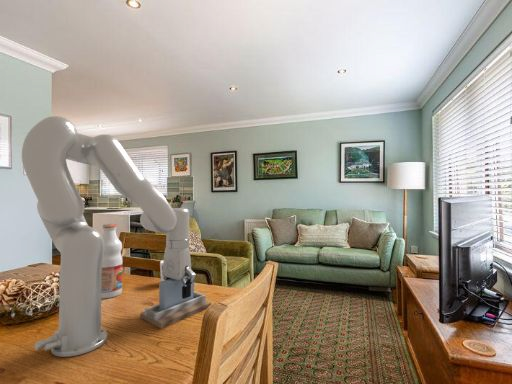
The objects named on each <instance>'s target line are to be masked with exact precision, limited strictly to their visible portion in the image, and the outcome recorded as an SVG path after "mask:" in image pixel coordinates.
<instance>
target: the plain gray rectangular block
mask: <svg viewBox="0 0 512 384" xmlns="http://www.w3.org/2000/svg"><path fill="white" fill-rule="evenodd" d="M185 281H187V279H185ZM158 284H159V285H158V286H159V287H158V288H159V289H158V290H159V291H158V298H159V299H158V304H159V312H160V311H163V310H165V309H168V308H171V307H173V306H176V305H179V304H181V303H184V302H186V301H189V300H192V299H194V292H195V280H194V281H193V283H192V285H191V296H190V297H188V298H185V299H183V298H182V286H183V284H182V281H181V280H179V281H178V280H174V279H168V280H164V281H161V280H160V281H159V283H158Z"/></svg>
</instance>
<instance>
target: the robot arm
mask: <svg viewBox="0 0 512 384" xmlns="http://www.w3.org/2000/svg"><path fill="white" fill-rule="evenodd" d="M67 160H69V161H73V162H77V163H81V164H85V165H89V166H95V167H96V166H97V167H98V168H99V169H100V170H101V172H102V173H103V174H104V175H105V177H106V178H107V179H108V181H109V183H110V184H111V185H112V186H113V187H114V189H115V190H116V192H117V193H118V194H119V195H121V196H123V197H124V198H126V199H128V200H130V201H131V202H132V203H134V205H136V206H137V207H139V208H140V209H141V210H142V213H141V215H140V217H139V222H140V225H141V227H143V228H144V229H145V230H147V231H151V232H156V233H159V234H166V235H165V236H166V239H165V240H166V242H165V243H166V244H165V246H166V247H165V249H164V253H163V260H164V261H163V265H162V271H163V276H164V280H168V279H174V280H178V281H179V280H181V281H182V284H183V286H182V298H183V299H185V298H188V297H190V296H191V285H192V283H193V281H194V282H195V277H196V273H195V272H194V271H193V270H192V262H191V260H192V258H191V251H190V210H189V209H188V208H185V207H172V206H171V204H170V202H168V200H167V199H166V197H165V196H164V195H163V194H162V193H161V192H160V191H159V190H158V189H157V187H155V186H154V185H153V184H152V183H151V182H150V181H149V180H148V179H147V178H146V177H145V176H143V173H141V171H140V170H139V168H138V167H137V165H136V164H135V163H134V161H133V159H132V158H131V157H130V155H129V154H128V152H127V151H126V149H125V148H124V147H123V145H122V143H121V142H120V141H119V140H118V139H117V138H116V137H115V136H114V135H113V136H112V135H110V134H99V135H96V136H94V137H92V136H88V135H85V134H82V133H79V132H78V131H77V128H76V126H75V125H74V124H73V122H72V121H70V120H69V119H67V118H66V117H63V116H58V115H53V116H48V117H45V118H43V119H42V120H40V121H39V122H37V123H36V124H35V125H34V126H33V127H32V128H31V129H30V130H29V132H27V134H26V136H25V138H24V139H23V143H22V149H21V161H22V162H21V163H22V165H23V166H22V167H23V169H24V171H25V175H26V176H27V179H28V181H29V183H30V186H31V188H32V190H33V192H34V195H35V196H36V199H37V204H36V206H37V207H36V208H37V212H38V215H39V217H40V219H41V222H42V223H43V225H44V227H45V229H46V231H47V233H48V235H49V237H50V240H51V241H52V243H53V245H54V247H55V248H56V250H58V252H60V265H59V281H58V284H59V285H58V289H59V292H58V294H59V295H58V296H59V297H58V298H59V300H58V301H59V302H58V329H56V330H54V334H53V335H51V336H50V337H48V338H45V339H41V340H39V341H36V342H35V343H34V349H35V351H39V350H42V349H44V351H49V350H50V352H51V354H52V355H54V356H55V357H59V358H60V357H63V358H66V357H74V356H79V355H83V354H86V353H89V352H91V351H94V350H95V349H97V348H99V347H100V346H102V345H103V344H104V343H105V342H106V341H107V339H108V331H107V330H106V329H104V328H102V298H101V274H102V260H103V254H104V241H103V238H102V236H103V235H102V234H101V233H100V231H99V230H98V229H96V228H94V227H93V226H89V224H88V222H87V220H86V218H85V216H84V212H85V209H86V208H85V203H84V200H83V197H82V196H81V194H80V192H79V190H78V188H77V186H76V183H75V182H74V179H73V177H72V174H71V173H70V170H69V167H68V163H67ZM185 279H187V281H185Z"/></svg>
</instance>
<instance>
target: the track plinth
mask: <svg viewBox="0 0 512 384" xmlns="http://www.w3.org/2000/svg"><path fill="white" fill-rule="evenodd" d="M210 305H211V306H212V302H211V301H208V300H207V295H205V294H203V293H200V292H197V291H194V299H192V300H189V301H186V302H184V303H181V304H179V305H176V306H173V307H171V308H168V309H165V310H163V311H160V312H159V303H158V304H156V305H152V306H150V307H147V308H145V309H144V311H142V312H140V313H139V317H140V318H141V319H142V320H144V321H146V322H148V324H149V323H150V324H151V325H153V326H155V327H157V328H159V329H161V330H162V329H165V328H167V327H168V326H170V325H173V324H175V323H178V322H180V321H182V320H185V319H187V318H190V317H191V316H194V315H196V314H198V313H200V312H203V311H205V310H207V308H208V307H209V306H210ZM208 309H209V308H208Z"/></svg>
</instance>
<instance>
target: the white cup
mask: <svg viewBox="0 0 512 384" xmlns="http://www.w3.org/2000/svg"><path fill="white" fill-rule="evenodd" d="M163 261H164V259H162V260H161V261H159V266H160V267H159V268H160V270H159V271H160V272H159V273H160V282H161V281H164V276H163V271H162V265H163Z"/></svg>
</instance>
